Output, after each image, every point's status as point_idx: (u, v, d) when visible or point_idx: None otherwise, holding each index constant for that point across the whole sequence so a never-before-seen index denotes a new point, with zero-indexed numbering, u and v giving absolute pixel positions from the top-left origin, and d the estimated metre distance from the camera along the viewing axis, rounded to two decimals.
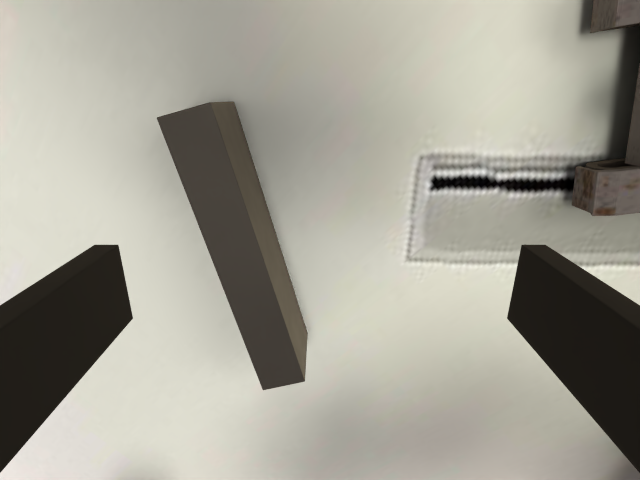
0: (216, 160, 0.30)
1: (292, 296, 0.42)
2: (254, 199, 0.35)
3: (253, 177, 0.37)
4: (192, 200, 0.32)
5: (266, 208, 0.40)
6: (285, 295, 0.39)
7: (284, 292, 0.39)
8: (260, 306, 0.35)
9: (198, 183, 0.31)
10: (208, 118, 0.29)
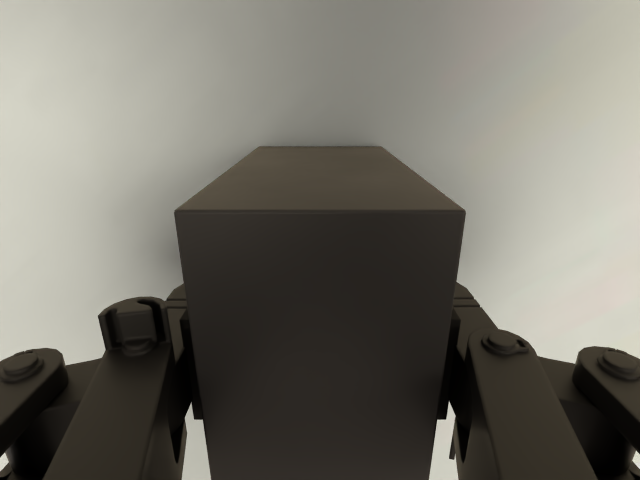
0: (381, 427, 0.07)
1: None
2: None
3: None
4: None
5: None
6: None
7: None
8: None
9: None
10: (423, 274, 0.06)
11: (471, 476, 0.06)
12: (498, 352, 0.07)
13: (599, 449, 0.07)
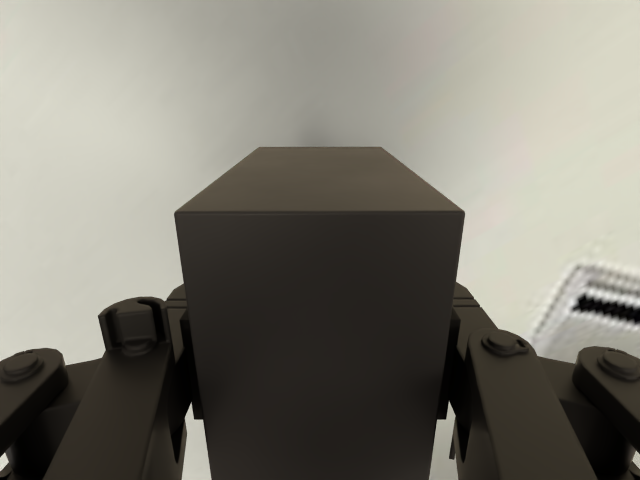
0: (381, 427, 0.07)
1: None
2: None
3: None
4: None
5: None
6: None
7: None
8: None
9: None
10: (423, 274, 0.06)
11: (471, 476, 0.06)
12: (498, 351, 0.07)
13: (599, 449, 0.07)
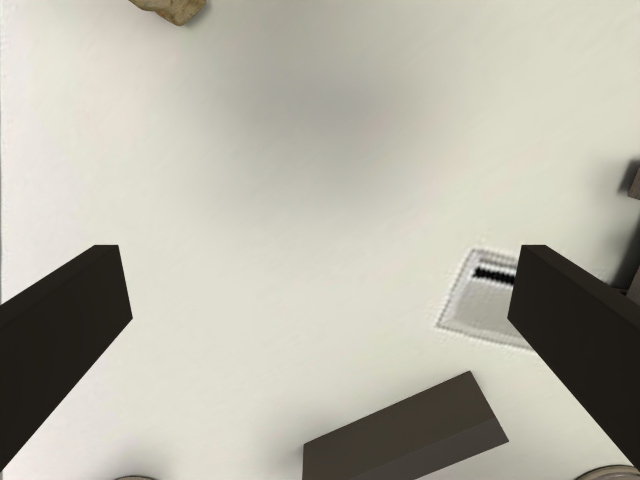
0: (473, 449, 0.47)
1: None
2: None
3: None
4: (444, 441, 0.46)
5: None
6: None
7: None
8: None
9: (456, 442, 0.47)
10: (499, 442, 0.46)
11: None
12: None
13: None
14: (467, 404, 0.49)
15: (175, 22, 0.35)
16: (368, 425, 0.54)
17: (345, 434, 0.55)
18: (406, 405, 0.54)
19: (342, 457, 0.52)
